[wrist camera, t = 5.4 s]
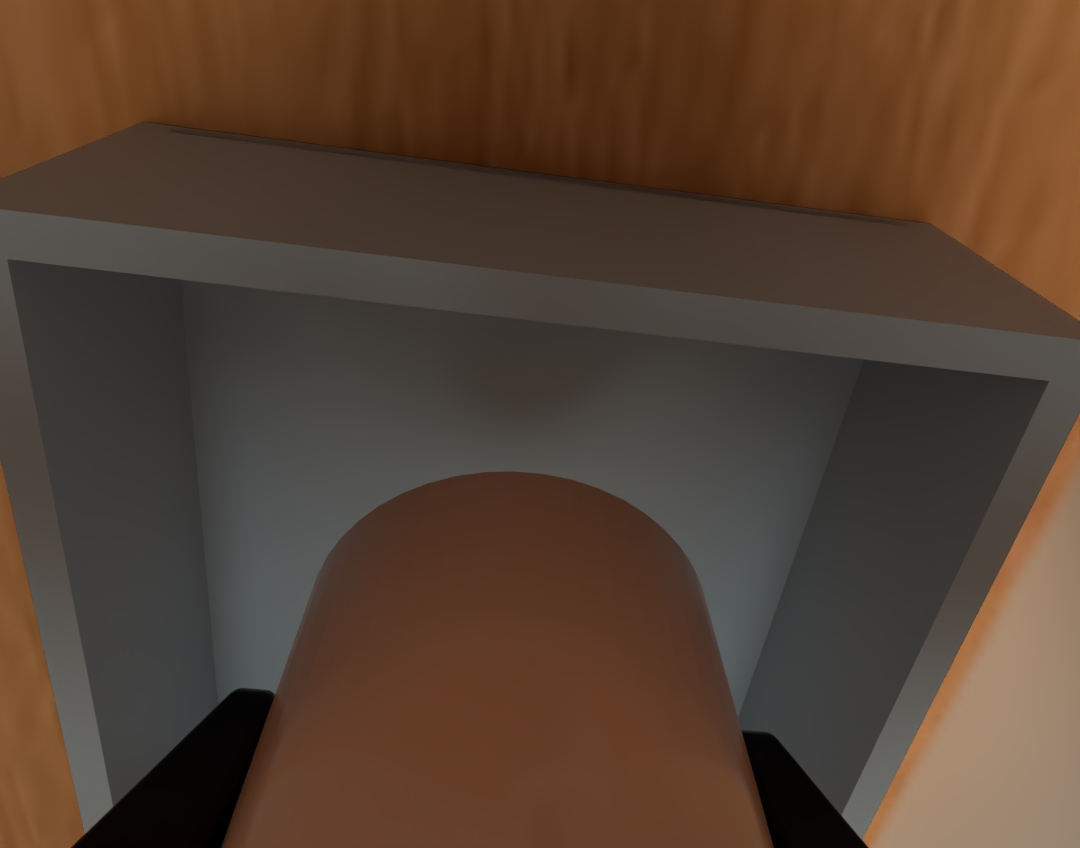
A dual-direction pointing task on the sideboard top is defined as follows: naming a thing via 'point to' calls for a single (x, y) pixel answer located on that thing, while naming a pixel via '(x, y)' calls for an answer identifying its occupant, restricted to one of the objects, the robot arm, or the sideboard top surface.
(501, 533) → the terracotta cylinder
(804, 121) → the sideboard top surface
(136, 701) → the tote
